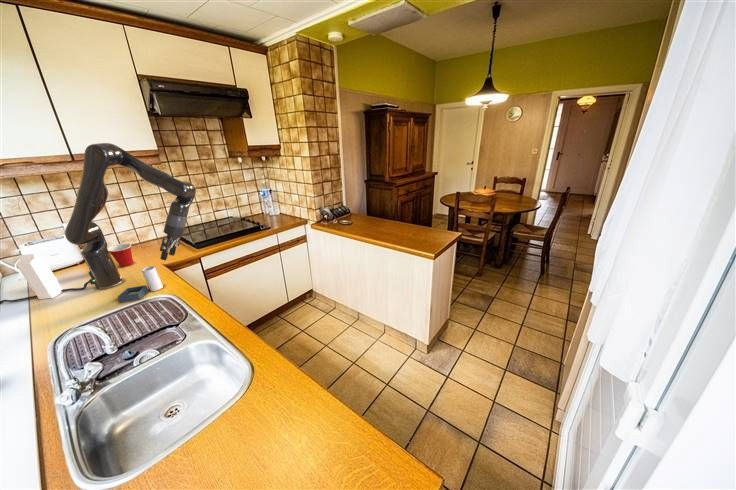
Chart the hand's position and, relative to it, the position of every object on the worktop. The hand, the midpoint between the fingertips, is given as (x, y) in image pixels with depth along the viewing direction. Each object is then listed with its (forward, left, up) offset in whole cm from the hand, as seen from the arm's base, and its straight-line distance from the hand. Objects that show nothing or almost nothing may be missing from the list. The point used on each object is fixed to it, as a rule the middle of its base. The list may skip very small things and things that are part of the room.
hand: (167, 257), depth 123 cm
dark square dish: (-18, -2, -17) cm, 25 cm away
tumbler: (-11, +3, -17) cm, 20 cm away
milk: (-61, +14, -17) cm, 65 cm away
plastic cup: (-42, +41, -17) cm, 62 cm away
